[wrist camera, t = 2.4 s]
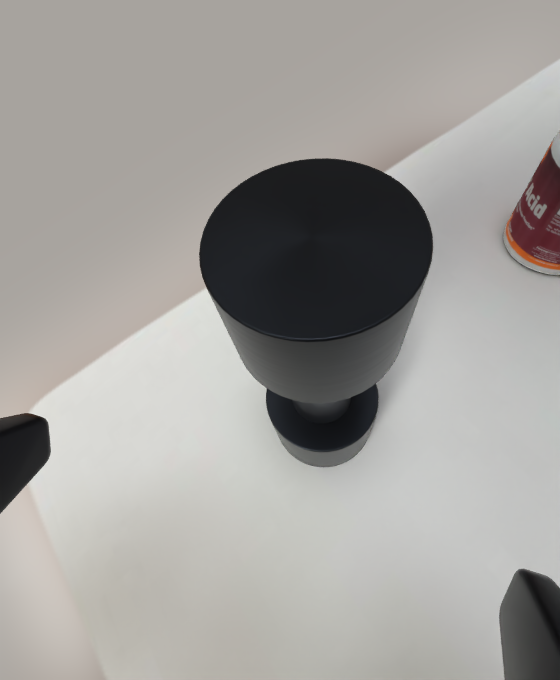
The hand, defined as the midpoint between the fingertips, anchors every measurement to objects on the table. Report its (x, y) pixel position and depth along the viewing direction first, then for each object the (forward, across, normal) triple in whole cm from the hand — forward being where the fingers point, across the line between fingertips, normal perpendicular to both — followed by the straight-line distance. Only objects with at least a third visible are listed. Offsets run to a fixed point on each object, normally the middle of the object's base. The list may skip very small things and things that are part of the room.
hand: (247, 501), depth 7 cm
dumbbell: (+12, 0, +5) cm, 12 cm away
